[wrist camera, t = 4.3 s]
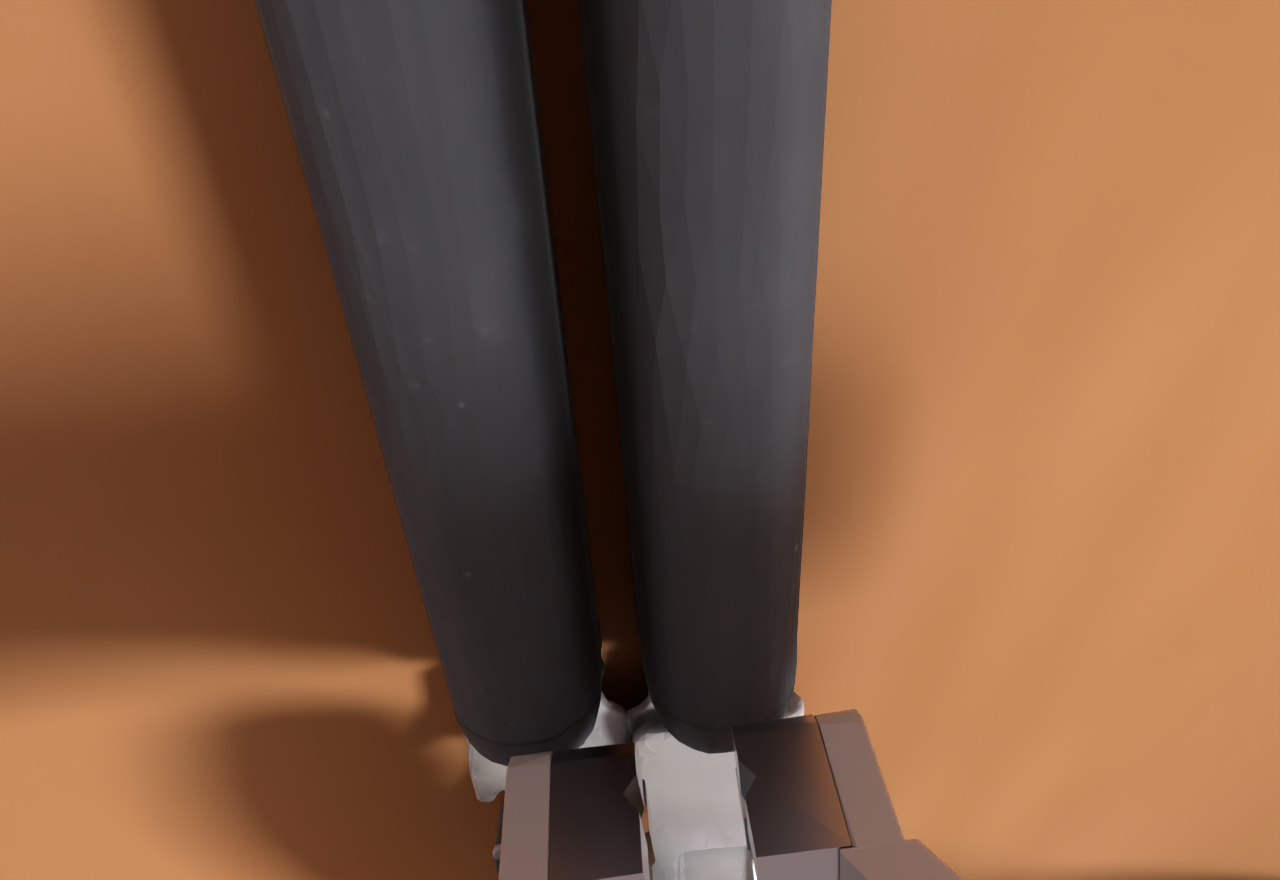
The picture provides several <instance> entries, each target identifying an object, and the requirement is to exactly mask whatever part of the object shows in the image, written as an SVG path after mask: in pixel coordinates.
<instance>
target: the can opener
mask: <svg viewBox="0 0 1280 880" xmlns="http://www.w3.org/2000/svg"><path fill="white" fill-rule="evenodd" d="M831 1H832V0H578V14H579V27H580V36H581V44H582V52H583V63H584V77H585V85H586V94H587V102H588V110H589V118H590V127H591V135H592V143H593V151H594V160H595V172H596V184H597V196H598V206H599V216H600V225H601V235H602V245H603V254H604V264H605V275H606V286H607V298H608V309H609V320H610V331H611V340H612V350H613V359H614V369H615V380H616V391H617V402H618V413H619V424H620V435H621V446H622V457H623V468H624V479H625V490H626V500H627V511H628V522H629V533H630V544H631V554H632V568H633V584H634V597H635V605H636V615H637V626H638V636H639V643H640V650H641V657H642V664H643V669H644V674H645V678H646V682H647V686H648V697H647V698H646V699H645V700H644V701H643V702H642V703H640V704H638V705H637V706H635V707H633V708H632V709H630V710H629V711H626V710H625V709H624V708H623V707H622V706H620V705H619V704H617V703H615V702H613V701H610V700H607V699H606V698H605V696H604V694H603V693H602V692H601V684H602V679H603V675H604V671H605V666H604V662H603V660H602V657H601V648H602V636H601V626H600V620H599V616H598V612H597V605H596V595H595V585H594V578H593V570H592V563H591V555H590V548H589V540H588V533H587V522H586V511H585V502H584V493H583V484H582V476H581V469H580V461H579V452H578V444H577V435H576V425H575V418H574V412H573V404H572V395H571V386H570V377H569V368H568V360H567V351H566V342H565V331H564V320H563V309H562V300H561V292H560V283H559V275H558V267H557V260H556V253H555V242H554V233H553V225H552V217H551V209H550V201H549V193H548V185H547V174H546V162H545V152H544V143H543V133H542V124H541V115H540V106H539V98H538V89H537V81H536V74H535V66H534V57H533V48H532V38H531V28H530V17H529V10H528V4H527V0H255V3H256V7H257V10H258V14H259V18H260V21H261V25H262V28H263V32H264V35H265V39H266V42H267V46H268V49H269V53H270V56H271V60H272V63H273V67H274V70H275V74H276V77H277V81H278V84H279V88H280V91H281V95H282V98H283V102H284V105H285V109H286V112H287V116H288V119H289V123H290V126H291V129H292V133H293V136H294V140H295V143H296V147H297V150H298V154H299V157H300V161H301V164H302V168H303V171H304V175H305V178H306V182H307V185H308V189H309V192H310V196H311V199H312V202H313V206H314V209H315V213H316V216H317V220H318V224H319V227H320V231H321V234H322V238H323V241H324V245H325V248H326V252H327V256H328V259H329V263H330V266H331V270H332V273H333V277H334V280H335V284H336V288H337V291H338V295H339V298H340V302H341V305H342V309H343V313H344V316H345V320H346V323H347V327H348V330H349V334H350V337H351V341H352V345H353V348H354V352H355V355H356V359H357V362H358V366H359V370H360V373H361V377H362V381H363V384H364V388H365V392H366V395H367V399H368V402H369V406H370V410H371V413H372V417H373V421H374V424H375V428H376V431H377V435H378V439H379V442H380V446H381V450H382V453H383V457H384V460H385V464H386V468H387V471H388V475H389V479H390V482H391V486H392V489H393V493H394V497H395V500H396V504H397V508H398V511H399V515H400V519H401V522H402V526H403V529H404V533H405V537H406V540H407V544H408V548H409V551H410V555H411V558H412V562H413V566H414V569H415V573H416V577H417V580H418V584H419V588H420V591H421V595H422V598H423V601H424V605H425V608H426V612H427V615H428V619H429V622H430V625H431V629H432V632H433V636H434V639H435V643H436V646H437V649H438V653H439V656H440V660H441V663H442V667H443V670H444V673H445V677H446V680H447V684H448V688H449V692H450V696H451V699H452V703H453V707H454V711H455V714H456V718H457V720H458V723H459V724H460V726H461V728H462V730H463V732H464V733H465V735H466V740H467V745H468V757H469V772H470V776H471V780H472V783H473V786H474V789H475V793H476V797H477V799H478V800H479V801H481V802H491V801H493V800H494V799H495V797H496V795H497V794H498V793H499V792H500V791H503V790H505V784H506V771H507V768H508V765H509V761H510V758H511V757H513V756H520V755H527V754H535V753H542V752H549V751H560V750H569V749H577V748H585V747H593V746H602V745H610V744H618V743H626V742H635V741H636V743H637V747H638V751H639V755H640V761H641V773H642V779H643V780H645V783H646V788H647V793H648V800H649V806H650V813H651V821H652V830H653V839H654V850H655V860H656V861H655V863H654V864H653V866H652V869H653V874H654V879H655V880H753V873H752V864H751V856H750V855H751V851H750V850H749V849H748V848H747V843H746V837H745V832H744V826H743V820H742V814H741V809H740V801H739V793H738V785H737V778H736V771H735V768H736V762H735V756H734V750H733V744H732V733H731V727H733V726H739V725H746V724H752V723H759V722H765V721H772V720H778V719H785V718H791V717H797V716H804V703H803V699H802V698H801V697H800V696H798V695H797V694H796V693H795V692H794V691H793V690H794V684H795V675H796V664H797V627H798V608H799V590H800V572H801V555H802V537H803V520H804V502H805V484H806V465H807V447H808V429H809V408H810V388H811V368H812V348H813V328H814V312H815V296H816V279H817V260H818V242H819V223H820V204H821V185H822V167H823V148H824V129H825V111H826V93H827V74H828V56H829V38H830V19H831ZM503 812H504V807H500V815H499V822H498V837H497V840H496V845H495V847H494V849H493V852H492V853H493V857H494V861H495V864H496V867H497V872H498V875H499V867H500V853H501V840H502V826H503Z"/></svg>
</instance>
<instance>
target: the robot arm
mask: <svg viewBox="0 0 1280 880" xmlns="http://www.w3.org/2000/svg"><path fill="white" fill-rule="evenodd" d="M731 733H732V744H733V750H734V756H735V762H736V768H735V771H736V778H737V785H738V793H739V801H740V809H741V814H742V820H743V826H744V832H745V837H746V843H747V848H748V849H749V850H750V851H751V855H750V856H751V864H752V873H753V880H962V879H961V878H960V877H959V876H958V875H957V874H956V873H955V872H953V871H952V870H951V869H950V868H949V867H948V866H947V865H946V864H945V863H944V862H942V861H941V860H940V859H939V858H938V857H937V856H936V855H935V854H934V853H932V852H931V851H930V850H929V849H928V848H927V847H926V846H925V845H924V844H922V843H921V842H920V841H919V840H918V839H913V840H904V838H903V835H902V832H901V829H900V826H899V823H898V820H897V817H896V814H895V811H894V808H893V805H892V803H891V800H890V797H889V794H888V791H887V788H886V785H885V782H884V779H883V776H882V773H881V770H880V767H879V764H878V761H877V759H876V756H875V753H874V750H873V747H872V744H871V741H870V738H869V735H868V732H867V729H866V726H865V723H864V720H863V718H862V716H861V715H860V714H859V713H858V711H857V710H855V709H852V710H846V711H840V712H833V713H827V714H821V715H815V716H813V715H812V714H810V715H804V716H797V717H791V718H785V719H778V720H772V721H765V722H759V723H752V724H746V725H739V726H733V727H731ZM655 861H656V860H655V850H654V839H653V830H652V821H651V813H650V806H649V800H648V793H647V788H646V783H645V780H643V779H642V773H641V761H640V755H639V751H638V747H637V743H636V741H635V742H626V743H618V744H610V745H602V746H593V747H585V748H577V749H569V750H560V751H549V752H542V753H535V754H527V755H520V756H513V757H511V758H510V761H509V765H508V768H507V771H506V784H505V798H504V812H503V826H502V840H501V853H500V867H499V880H655V879H654V874H653V869H652V866H653V864H654V863H655Z"/></svg>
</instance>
